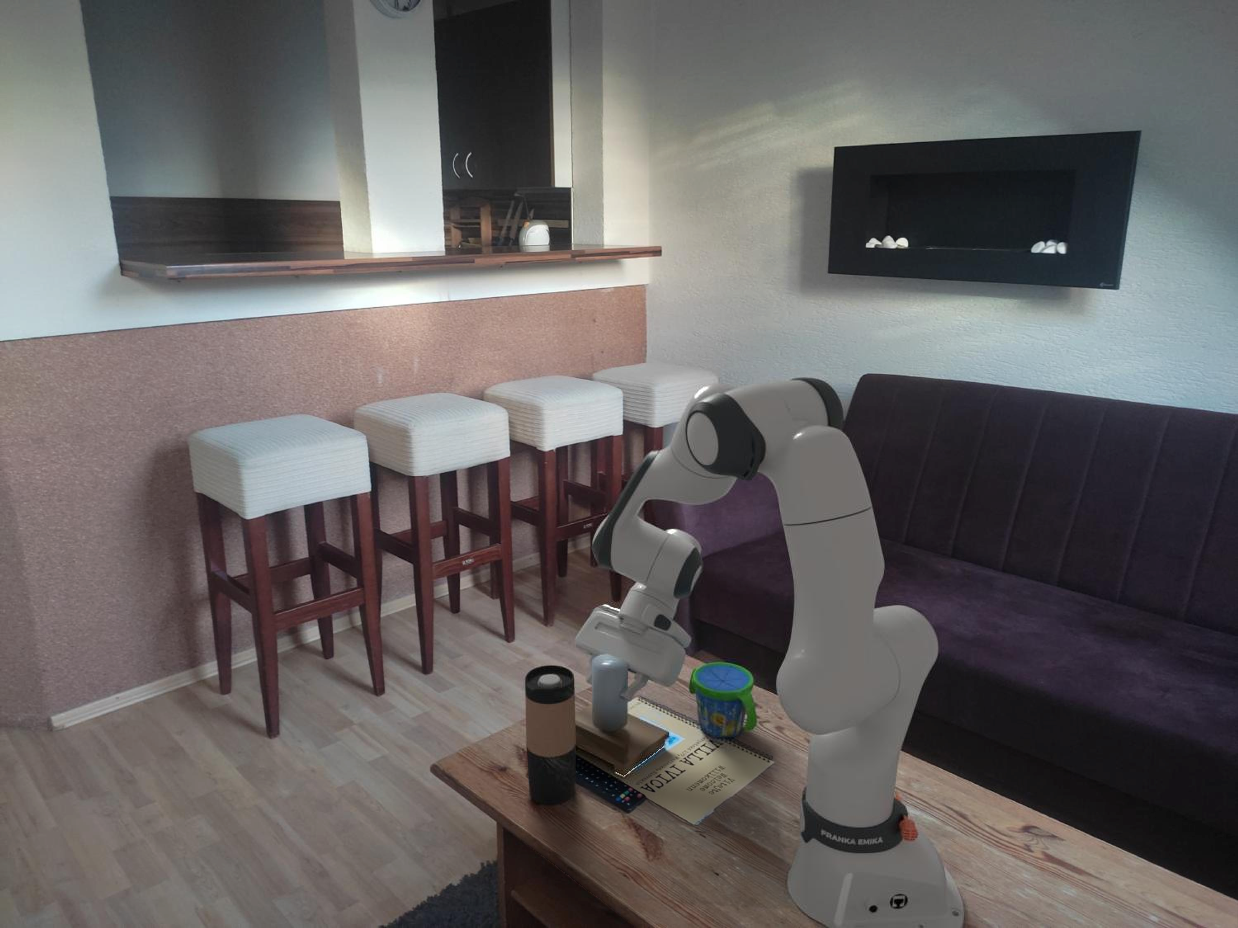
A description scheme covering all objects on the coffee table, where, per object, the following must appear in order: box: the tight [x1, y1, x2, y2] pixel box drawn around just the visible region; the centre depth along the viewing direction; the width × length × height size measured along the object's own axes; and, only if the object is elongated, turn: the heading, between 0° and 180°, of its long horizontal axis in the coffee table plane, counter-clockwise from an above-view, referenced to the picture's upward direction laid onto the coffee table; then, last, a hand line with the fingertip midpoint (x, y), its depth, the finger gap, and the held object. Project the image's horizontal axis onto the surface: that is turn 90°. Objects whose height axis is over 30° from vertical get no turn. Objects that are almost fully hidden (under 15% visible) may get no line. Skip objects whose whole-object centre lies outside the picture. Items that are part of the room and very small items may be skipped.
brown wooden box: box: [575, 703, 670, 776], centre depth 152 cm, size 12×16×6 cm
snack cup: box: [688, 662, 758, 739], centre depth 156 cm, size 16×10×10 cm
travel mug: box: [524, 664, 577, 806], centre depth 138 cm, size 8×8×20 cm
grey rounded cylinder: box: [591, 654, 629, 731], centre depth 150 cm, size 6×6×11 cm
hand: (607, 691), depth 149 cm, fingers closed on grey rounded cylinder, 6 cm apart
